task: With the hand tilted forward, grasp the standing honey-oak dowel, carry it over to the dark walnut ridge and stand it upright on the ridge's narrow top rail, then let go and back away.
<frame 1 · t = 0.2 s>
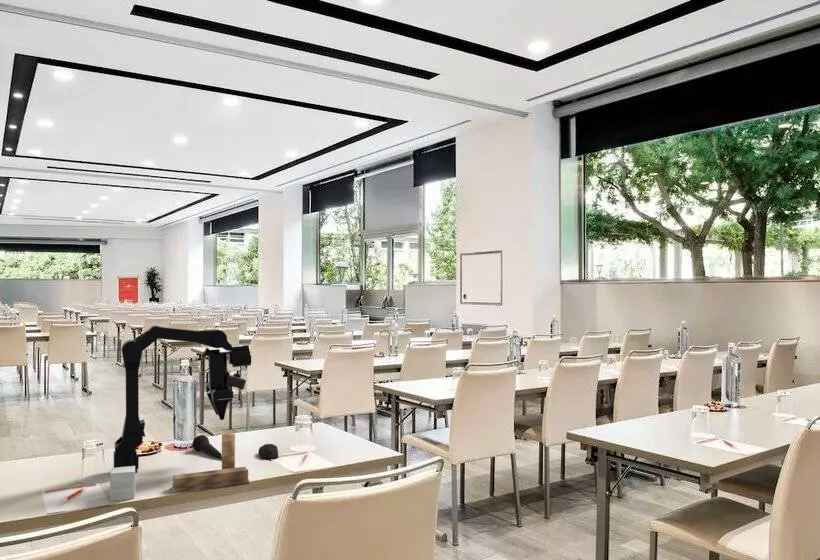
hand: (220, 417, 212), 14 cm above the table, tool pointing down, fingers open, 9 cm apart
ridge: (211, 485, 187), on the table
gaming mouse: (269, 458, 219), on the table
product box: (122, 497, 177), on the table
dowel: (228, 476, 195), on the table
microphone: (207, 456, 221), on the table
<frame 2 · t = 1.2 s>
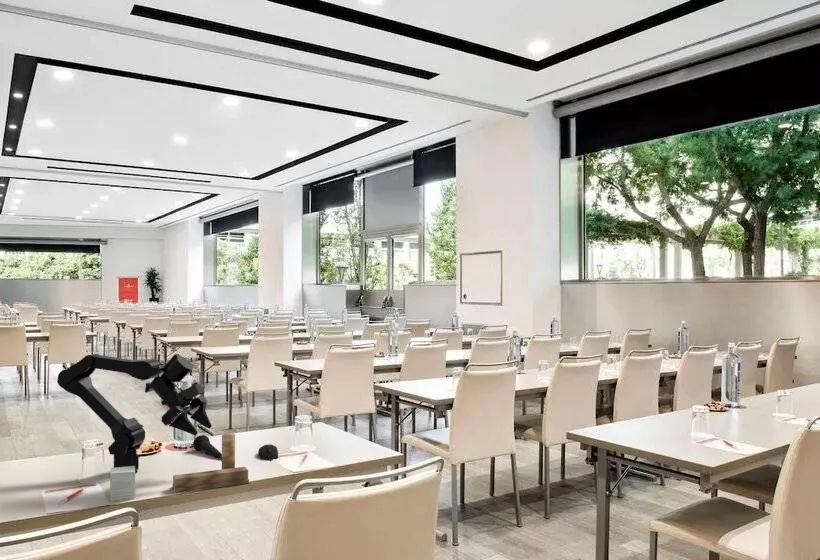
hand: (203, 430, 196), 13 cm above the table, tool tilted 45°, fingers open, 9 cm apart
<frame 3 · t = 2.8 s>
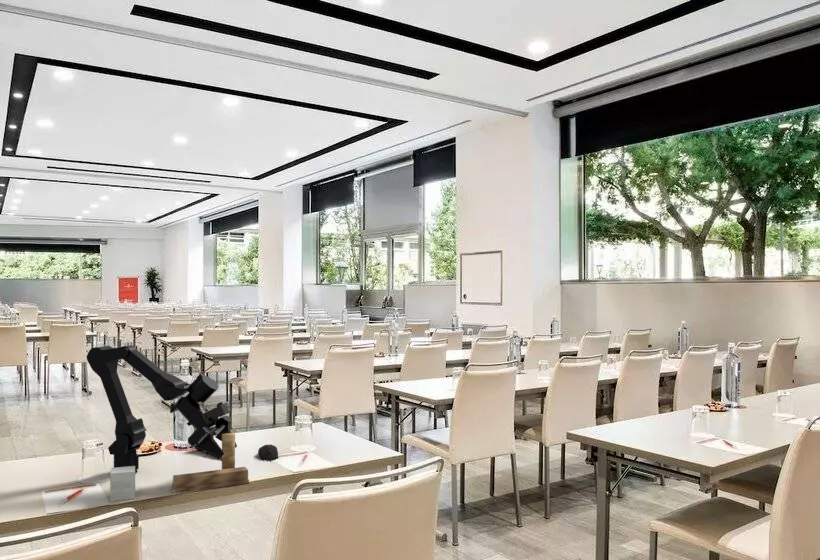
hand: (229, 451, 195), 8 cm above the table, tool tilted 45°, fingers open, 9 cm apart
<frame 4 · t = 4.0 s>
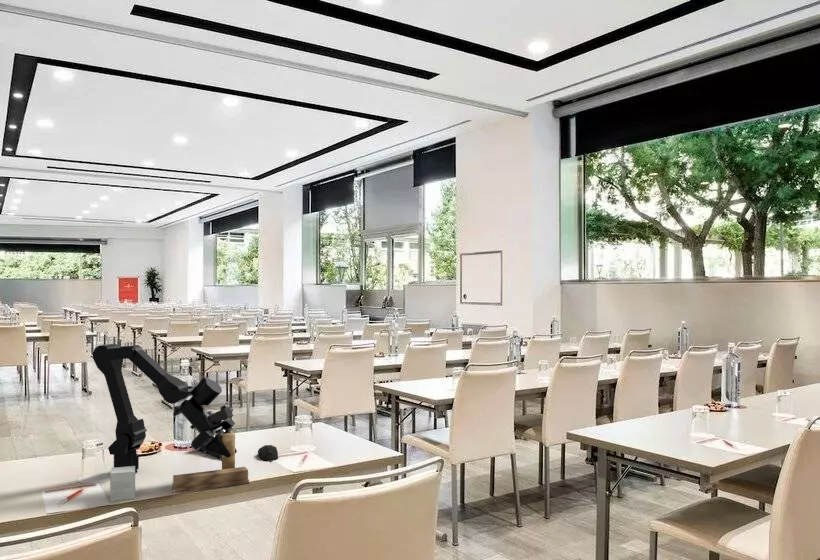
hand: (232, 454, 195), 7 cm above the table, tool tilted 45°, fingers closed on dowel, 4 cm apart
dowel: (228, 476, 195), on the table, touching gripper
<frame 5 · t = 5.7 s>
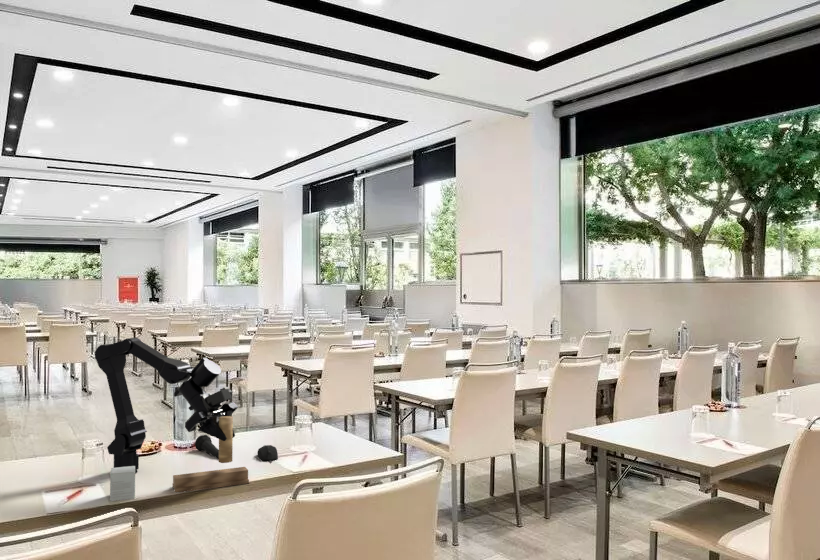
hand: (229, 438, 189), 13 cm above the table, tool tilted 45°, fingers closed on dowel, 4 cm apart
dowel: (225, 461, 189), point 6 cm above the table, touching gripper
when the fingers open (11 cm above the table, at t = 6.3 s): dowel stays where it is, resting on ridge.
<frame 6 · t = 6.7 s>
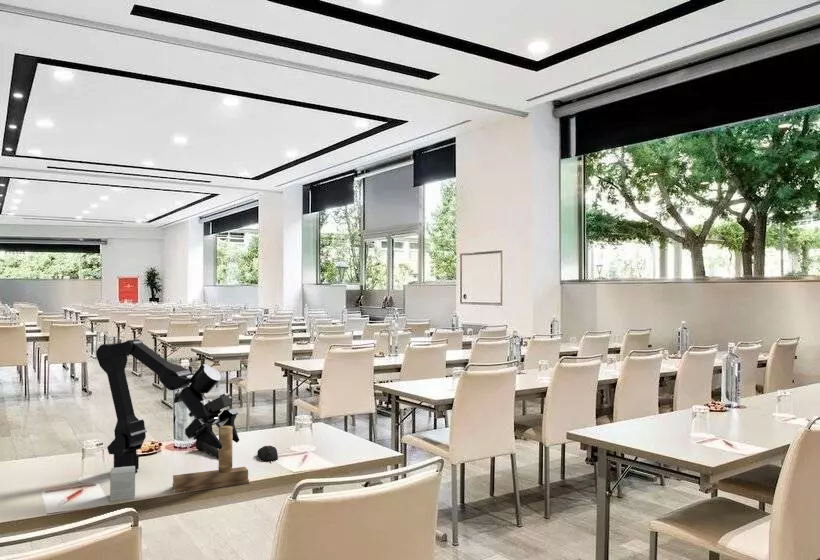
hand: (229, 444, 189), 11 cm above the table, tool tilted 45°, fingers open, 8 cm apart
dowel: (225, 470, 189), point 4 cm above the table, touching ridge
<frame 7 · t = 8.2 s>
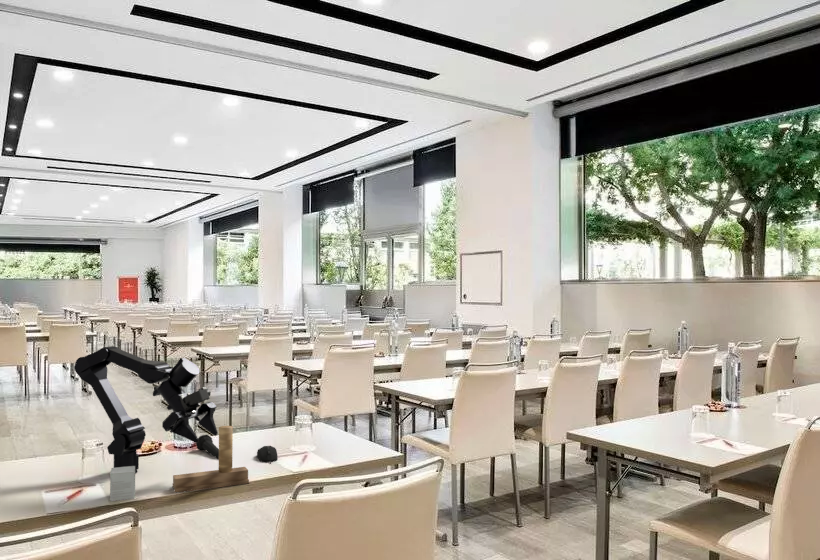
hand: (207, 438, 191), 12 cm above the table, tool tilted 45°, fingers open, 9 cm apart
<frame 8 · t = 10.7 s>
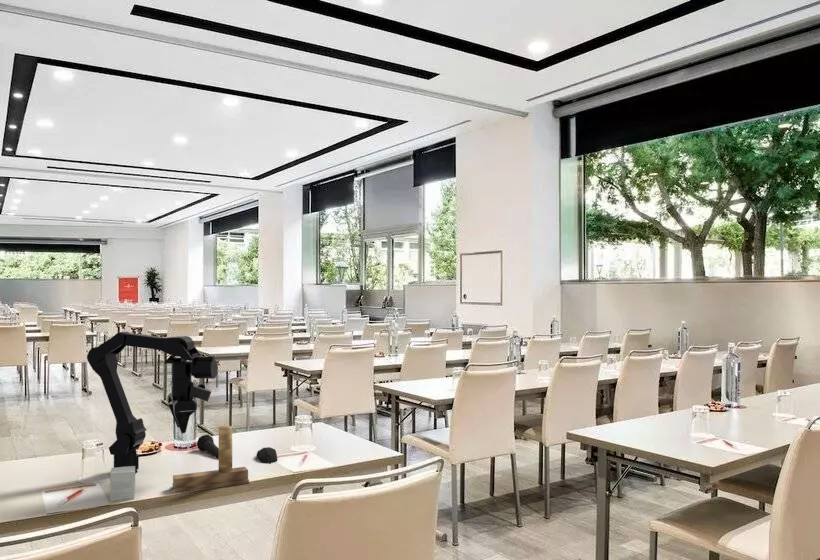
hand: (181, 430, 199), 13 cm above the table, tool pointing down, fingers open, 9 cm apart
at the end: dowel inside the target area on the ridge (4.0 cm from its centre), point 3.5 cm above the ridge's base; dowel tilted 1°; the gripper is holding nothing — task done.
